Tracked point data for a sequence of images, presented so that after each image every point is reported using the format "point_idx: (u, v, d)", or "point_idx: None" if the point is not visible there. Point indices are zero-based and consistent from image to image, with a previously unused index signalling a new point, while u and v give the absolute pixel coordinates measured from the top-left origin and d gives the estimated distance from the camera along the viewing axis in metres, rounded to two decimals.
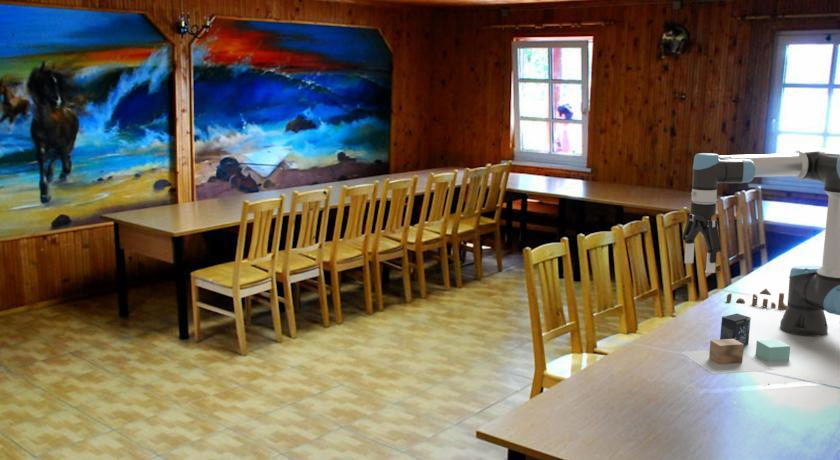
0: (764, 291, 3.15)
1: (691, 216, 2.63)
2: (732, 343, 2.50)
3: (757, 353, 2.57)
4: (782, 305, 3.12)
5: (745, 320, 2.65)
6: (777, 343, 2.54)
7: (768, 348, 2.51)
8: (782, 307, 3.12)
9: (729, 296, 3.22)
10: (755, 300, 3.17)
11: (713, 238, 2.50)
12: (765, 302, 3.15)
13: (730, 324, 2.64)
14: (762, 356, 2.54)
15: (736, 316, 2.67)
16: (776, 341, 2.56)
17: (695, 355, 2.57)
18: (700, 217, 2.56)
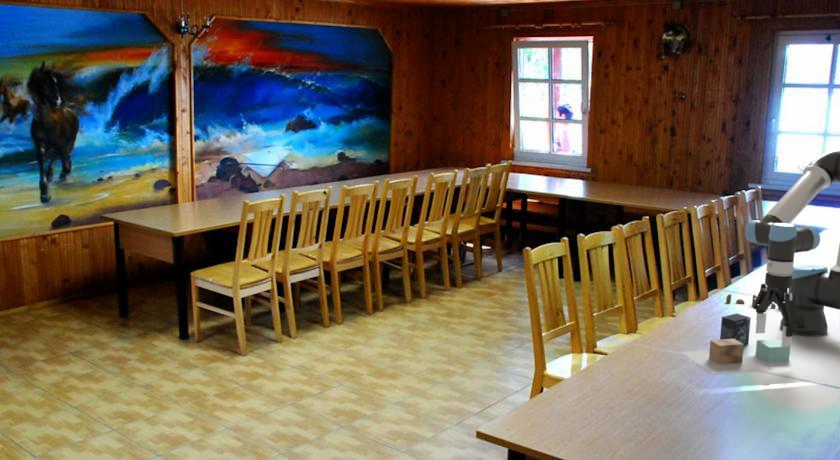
0: None
1: (764, 286, 2.56)
2: (732, 343, 2.50)
3: (757, 353, 2.57)
4: None
5: (745, 320, 2.65)
6: (777, 343, 2.54)
7: (768, 348, 2.51)
8: None
9: (729, 297, 3.20)
10: None
11: (790, 312, 2.44)
12: None
13: (730, 324, 2.64)
14: (762, 356, 2.54)
15: (736, 316, 2.67)
16: (776, 341, 2.56)
17: (695, 355, 2.57)
18: (775, 288, 2.50)
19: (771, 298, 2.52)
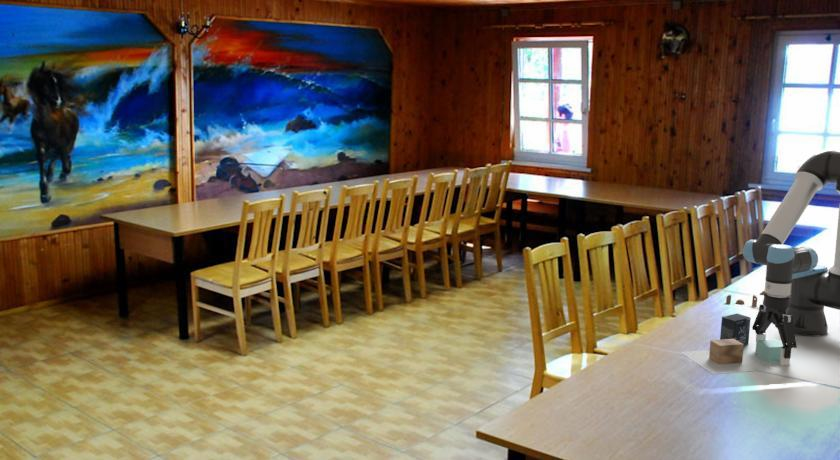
0: (764, 292, 3.13)
1: (763, 307, 2.58)
2: (732, 343, 2.50)
3: (757, 353, 2.57)
4: None
5: (745, 320, 2.65)
6: (777, 343, 2.54)
7: (768, 348, 2.51)
8: None
9: (729, 297, 3.20)
10: (755, 301, 3.15)
11: (788, 334, 2.45)
12: None
13: (730, 324, 2.64)
14: (762, 356, 2.54)
15: (736, 316, 2.67)
16: (776, 341, 2.56)
17: (695, 355, 2.57)
18: (774, 309, 2.51)
19: (770, 319, 2.54)
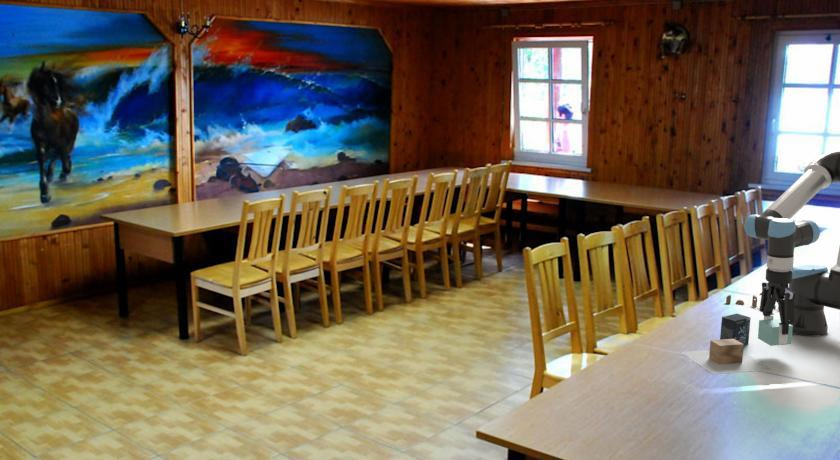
0: None
1: (765, 284, 2.56)
2: (732, 343, 2.50)
3: (759, 333, 2.56)
4: None
5: (745, 320, 2.65)
6: (779, 322, 2.53)
7: (770, 328, 2.50)
8: None
9: (729, 298, 3.19)
10: (755, 301, 3.15)
11: (788, 311, 2.46)
12: None
13: (730, 324, 2.64)
14: (764, 336, 2.54)
15: (736, 316, 2.67)
16: (778, 321, 2.55)
17: (695, 355, 2.57)
18: (776, 284, 2.50)
19: (772, 293, 2.52)
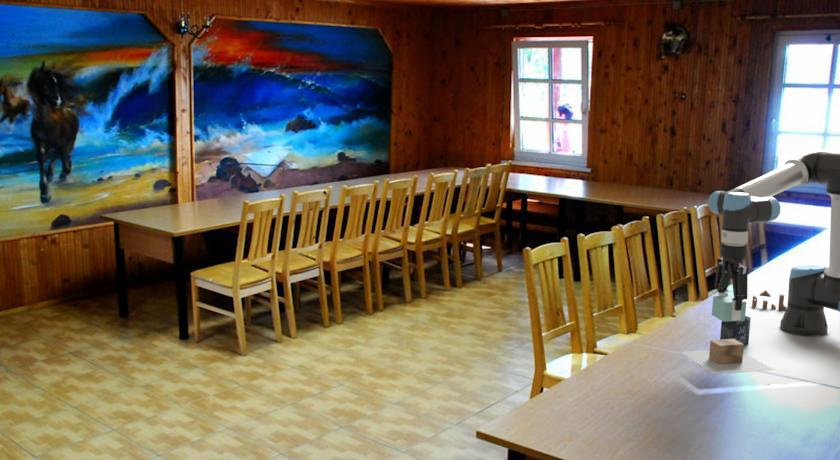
0: (764, 293, 3.12)
1: (720, 260, 2.52)
2: (732, 343, 2.50)
3: (713, 309, 2.51)
4: (782, 307, 3.10)
5: (745, 320, 2.65)
6: None
7: (723, 303, 2.45)
8: (782, 309, 3.10)
9: None
10: (755, 302, 3.14)
11: (741, 286, 2.41)
12: (765, 304, 3.13)
13: (730, 324, 2.64)
14: (718, 312, 2.49)
15: None
16: (732, 297, 2.50)
17: (695, 355, 2.57)
18: (730, 259, 2.46)
19: (726, 269, 2.48)
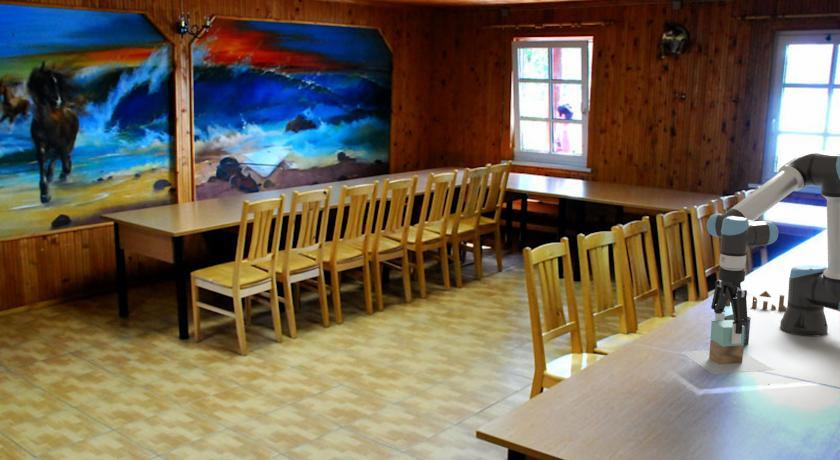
0: (765, 293, 3.11)
1: (718, 282, 2.53)
2: None
3: (712, 334, 2.53)
4: (782, 307, 3.10)
5: None
6: (731, 323, 2.50)
7: (722, 328, 2.47)
8: (782, 309, 3.10)
9: (728, 299, 3.17)
10: (755, 303, 3.13)
11: (740, 309, 2.42)
12: (765, 304, 3.12)
13: None
14: (716, 337, 2.50)
15: None
16: (731, 322, 2.52)
17: (695, 355, 2.57)
18: (729, 283, 2.47)
19: (725, 293, 2.49)
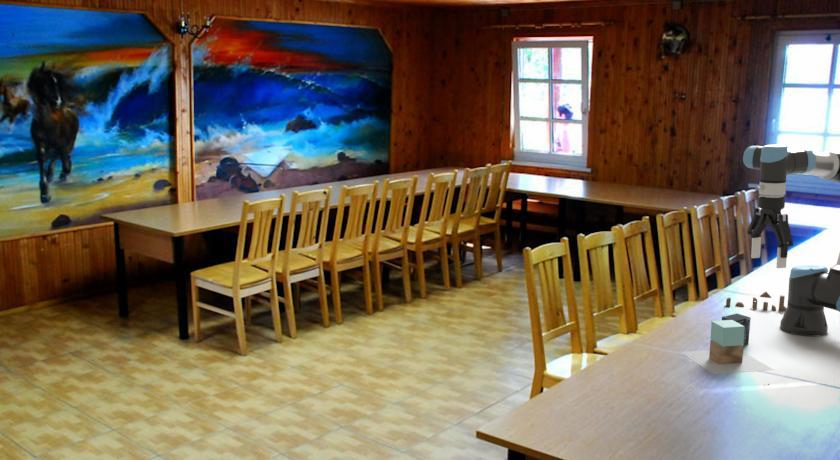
0: (765, 294, 3.10)
1: (758, 210, 2.55)
2: None
3: (712, 334, 2.53)
4: (783, 308, 3.09)
5: (745, 320, 2.65)
6: (731, 323, 2.50)
7: (722, 328, 2.47)
8: (783, 310, 3.09)
9: (729, 300, 3.16)
10: (755, 303, 3.12)
11: (784, 232, 2.43)
12: (766, 305, 3.11)
13: None
14: (716, 337, 2.50)
15: (736, 316, 2.67)
16: (731, 322, 2.52)
17: (695, 355, 2.57)
18: (768, 211, 2.49)
19: (765, 221, 2.51)
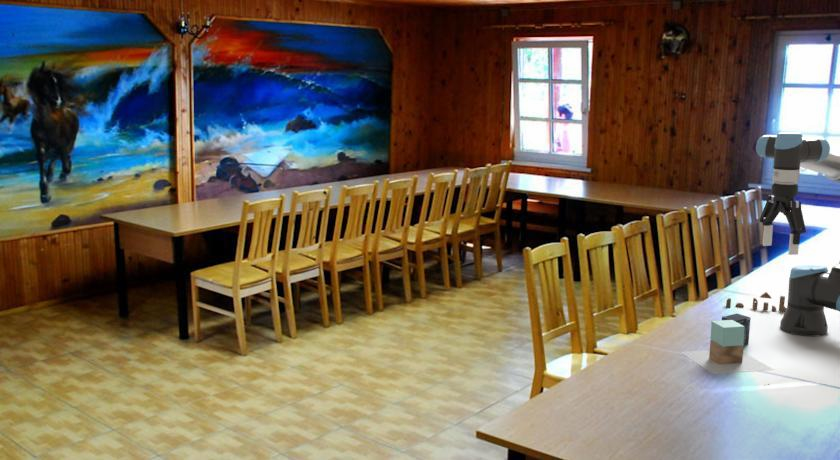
0: (765, 294, 3.10)
1: (770, 197, 2.57)
2: None
3: (712, 334, 2.53)
4: (783, 308, 3.08)
5: (745, 320, 2.65)
6: (731, 323, 2.50)
7: (722, 328, 2.47)
8: (783, 310, 3.09)
9: (729, 301, 3.15)
10: (756, 304, 3.12)
11: (797, 219, 2.44)
12: (766, 306, 3.10)
13: None
14: (716, 337, 2.50)
15: (736, 316, 2.67)
16: (731, 322, 2.52)
17: (695, 355, 2.57)
18: (782, 198, 2.51)
19: (777, 208, 2.53)
